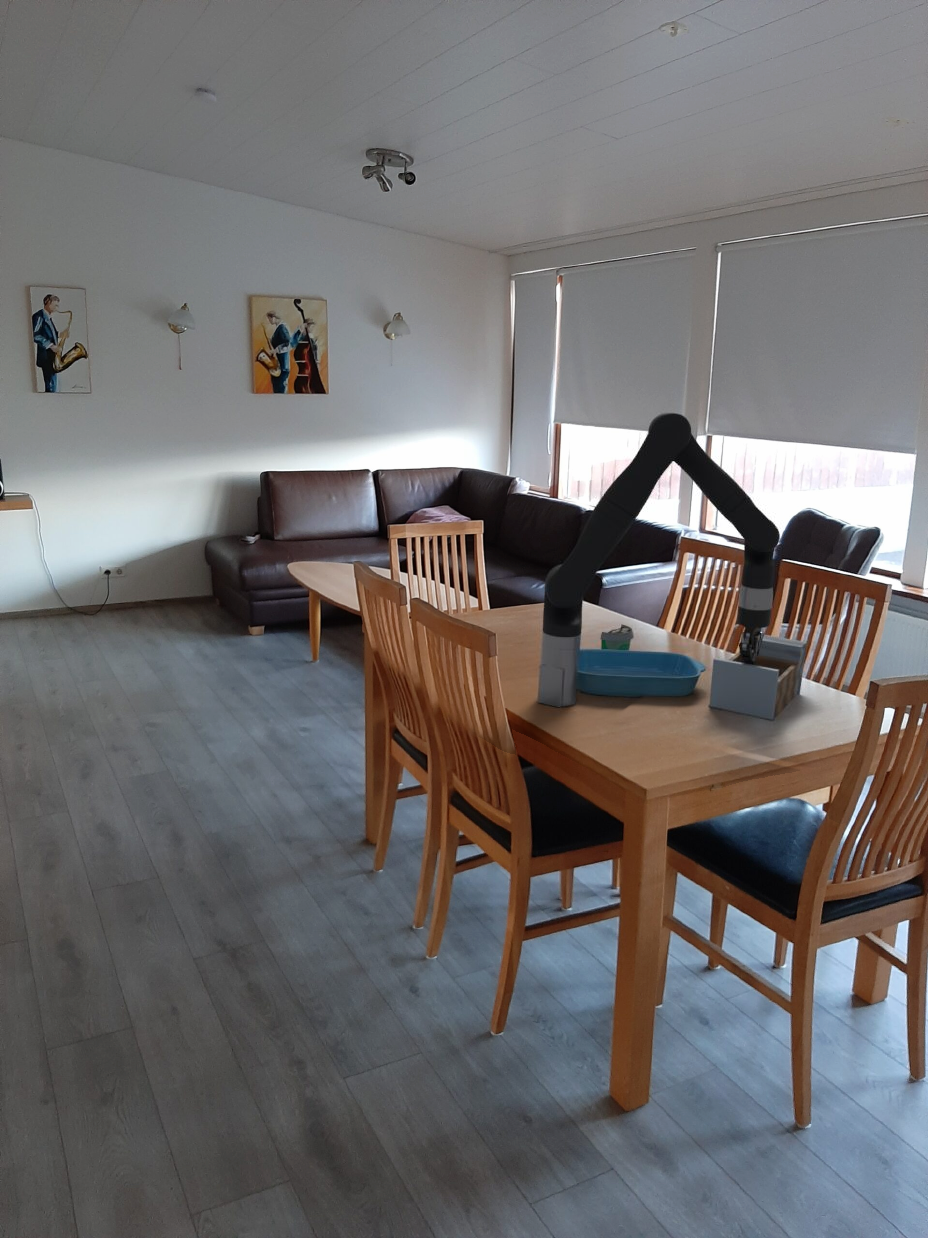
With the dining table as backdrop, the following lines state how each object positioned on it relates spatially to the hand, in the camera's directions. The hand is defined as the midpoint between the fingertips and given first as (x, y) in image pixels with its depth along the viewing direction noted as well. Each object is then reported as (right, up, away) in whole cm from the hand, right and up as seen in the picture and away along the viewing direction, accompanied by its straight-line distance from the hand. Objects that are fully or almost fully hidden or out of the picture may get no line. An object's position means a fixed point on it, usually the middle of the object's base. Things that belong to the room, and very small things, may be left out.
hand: (748, 675), depth 223 cm
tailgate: (-2, -9, 0) cm, 9 cm away
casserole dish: (-24, -5, +20) cm, 32 cm away
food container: (-24, 0, +38) cm, 45 cm away
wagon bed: (+6, -7, +12) cm, 15 cm away
